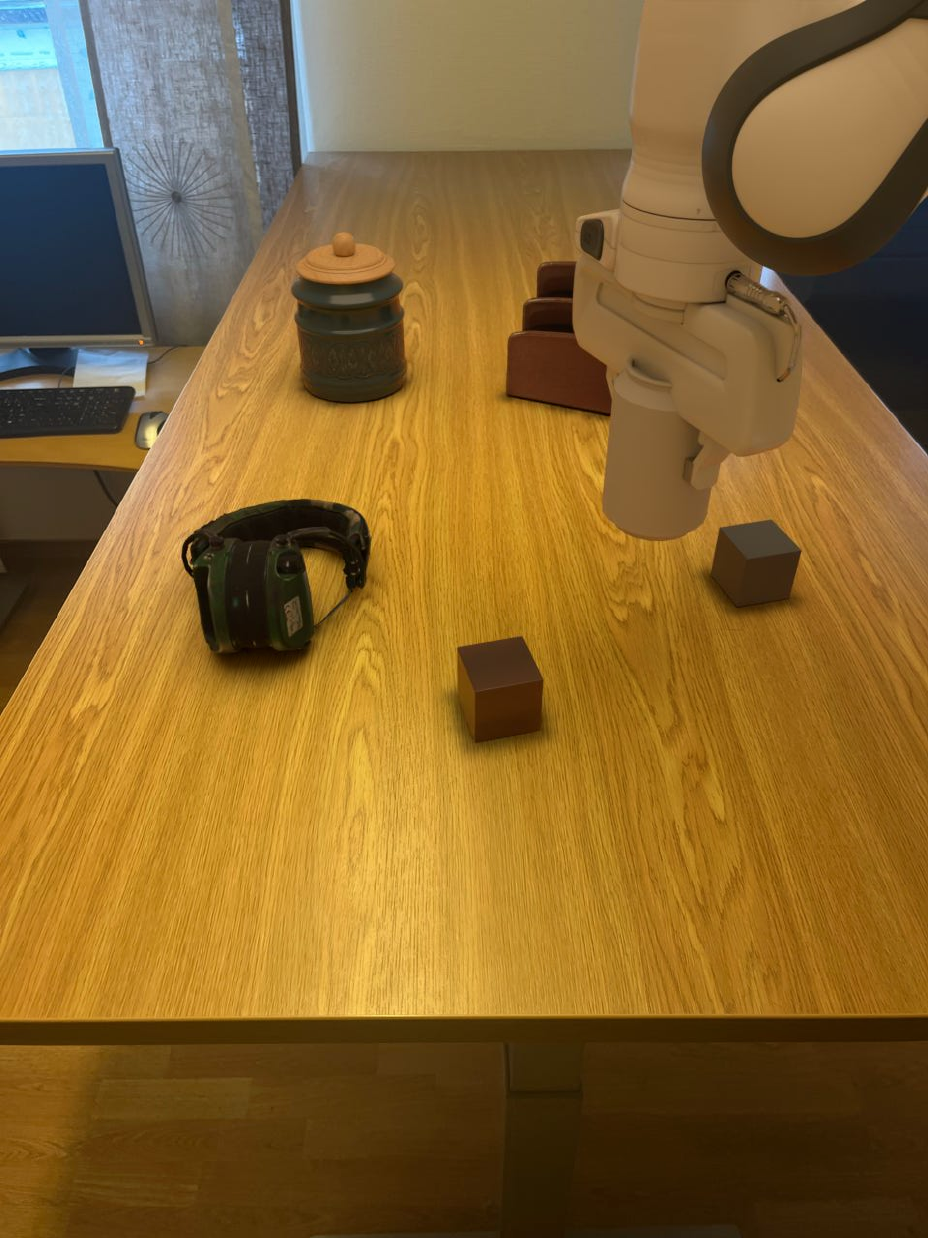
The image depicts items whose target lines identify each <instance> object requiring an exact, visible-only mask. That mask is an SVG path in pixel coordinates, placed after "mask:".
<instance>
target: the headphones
mask: <svg viewBox="0 0 928 1238" xmlns="http://www.w3.org/2000/svg"><path fill="white" fill-rule="evenodd" d="M372 539H373V538H372V535H371V532H370V529H369V525H368V522H367V520H366V518H365V517H364V515H363V514H362V513H361V512H360V511H358V510H357V509H356V508H354V507H352V506H349V505H347V504H343V503H340V502H335V501H325V500H321V499H311V498H297V499H287V500H286V499H281V500H280V499H279V500H273V501H267V502H263V503H258V504H253V505H249V506H245V507H242V508H239V509H237V510H234V511H231V512H228V513H225V512H224V513H223V514H222V515H220V516H219V517H217V518H216V519H215V520H214V519H212V520H209V522H207V523H206V524H203V525H202V526H201V527H200V528H198V529H196V530H193V533H191V534H190V535H189V536H187V538H186V539H185V540H184V541H183V544H182V545H181V554H180V555H181V556H180V558H181V561H182V565H183V567H184V568H183V569H184V571H186V573H187V574H188V575H189V577H190V578H191V579H193V582H194V586H195V591H196V596H197V603H198V609H199V610H198V611H199V617H200V625H201V626H200V627H201V631H202V634H203V638H204V641H205V644H207V645H208V647H209V649H210V651H211V652H213V653H215V654H221V653H222V654H231V653H236V652H237V653H238V652H239V651H241V650H242V649H244V648H249V649H259V648H267V647H271V648H272V649H274V650H276V651H294V650H295V651H296V650H305V649H308V647H309V646H310V645H311V644H312V639H313V636H314V634H315V628H317V627H318V626H320V625H322V624H323V623H324V622H325V621H327V620H328V619H329V618H331V617H332V616H333V615H334V614H335V613H336V612H337V611H338V610H339V609H340V608H341V607H342V606H343V605H344V604H345V603H346V601H348V599H349V597H350V595H351V594H352V593H353V592H354V590H355V589H356V588H358V589H360V590H363V589H364V588H365V586H366V584H367V571H368V566H369V562H370V558H371V549H372ZM189 545H190V547H189ZM300 546H301V547H313V548H317V549H318V548H319V549H323V550H326V551H331V552H334V553H338V554H341V555H342V560H343V561H344V567H343V568H342V572H343V574H344V575H345V585H346V588H347V589H348V591H347V593H346V594H345V596H343V597H342V599H340V601H339V602H338V603H337V604H336V605H335V606H334V607H333V608H332V609H331V610H330V611H329V612H328V613H327V614H326V616H325V617H323V618H322V619H321V620H320V621H319V622H317V623H316V624H315V618H314V607H313V606H314V605H313V596H312V590H311V585H310V581H309V576H308V571H307V567H306V562H305V557H304V555H303V552H302V551H301V548H300ZM188 550H189V552H190V559H189V560H188V558H187V557H188V556H187V555H188ZM190 565H192V567H191V566H190Z"/></svg>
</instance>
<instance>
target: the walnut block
mask: <svg viewBox="0 0 928 1238" xmlns="http://www.w3.org/2000/svg"><path fill="white" fill-rule="evenodd" d="M456 657H457V658H456V664H457V665H456V667H457V669H456V671H457V672H456V673H457V675H456V677H457V678H456V679H457V699H458V702H459V704H460V708H461V709H462V712H463V714H464V715H463V716H464V718H465V720H466V723H467V726H468V728H469V731H470V734H471V737H472V739H473V741H474V743H479V742H480V743H481V742H485V741H490V740H495V739H502V738H506V737H512V736H515V735H516V736H517V735H521V734H528V733H532V732H537V731H541V727H542V725H541V724H542V710H543V694H544V680H545V679H544V677H543V675H542V673H541V671H540V669H539V666H538V665H537V663H536V661H535V659H534V657H533V655H532V653H531V650H530V648H529V647H528V644H527V642H526V641H525V639H524V636H522V635H520V636H513V637H508V638H502V639H495V640H489V641H484V642H479V643H472V644H467V645H462V646H457V648H456Z"/></svg>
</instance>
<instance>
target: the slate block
mask: <svg viewBox="0 0 928 1238" xmlns="http://www.w3.org/2000/svg"><path fill="white" fill-rule="evenodd" d="M802 552H803V550H802V549H801V547H800V546H798V545H797V543H795V542H794V541H793V540H792V539H791V537H790V536H789V535H788V534H786V532H785V531H784V530H783V529H782V528H781V527H780V526H779V525H778V524H777V523H776V522H775V521H774V520H773V519H766V520H759V521H753V522H746V523H740V524H734V525H733V524H732V525H727V526H720V527H719V529H718V533H717V538H716V544H715V550H714V554H713V559H712V564H711V569H710V576H711V577H712V578H713V580H714V581H715V582H716V583H717V585H718V586H719V587H720V589H722V591H723V592H724V593H725V594H726V596H727V598H729V599H730V601H731V602H732V603H733V604H734V606H735V607H736V608H740V607H747V606H753V605H758V604H763V603H770V602H775V601H781V600H786V599H787V600H788V599H790V597H791V594H792V589H793V586H794V583H795V578H796V574H797V570H798V567H799V562H800V559H801V555H802Z"/></svg>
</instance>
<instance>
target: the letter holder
mask: <svg viewBox="0 0 928 1238" xmlns="http://www.w3.org/2000/svg"><path fill="white" fill-rule="evenodd" d="M576 263H577V260H576V261H574V260H573V261H571V260H569V261H568V260H563V261H562V260H561V261H559V260H558V261H556V260H555V261H553V260H552V261H544V262H542V263H541V264H540V265H539V266H538V268H537V272H536V296H533V297H530V298H527V300H525V301H524V302H523V305H522V320H521V321H522V324H521V331H514V332H512V333H510V335H509V336H508V339H507V346H506V347H507V355H506V363H507V364H506V374H505V375H506V378H505V393H506V395H507V396H511V397H517V398H522V399H525V400H526V399H527V400H531V401H535V402H541V403H547V404H553V405H558V406H563V407H567V408H568V407H569V408H574V409H579V410H583V411H584V410H585V411H589V412H594V413H601V414H605V415H610V416H611V406H612V398H611V394H610V390H609V386H608V382H607V378H606V373H607V365H606V364H604V363H603V362H601V361H600V360H598V359H597V358H596V357H594V356H593V355H591V354H590V353H588V352H587V351H586V350H584V349H583V348H581V347H580V346H579V344H578V342H577V339H576V336H575V332H574V329H573V291H574V277H575V268H576Z"/></svg>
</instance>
